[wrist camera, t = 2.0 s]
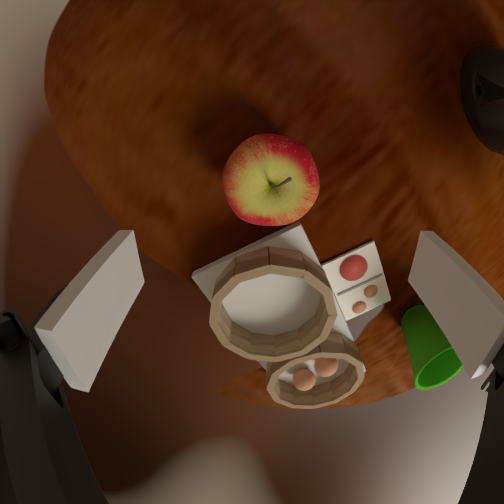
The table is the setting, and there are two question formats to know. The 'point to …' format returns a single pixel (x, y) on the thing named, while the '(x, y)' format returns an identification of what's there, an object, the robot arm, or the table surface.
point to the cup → (428, 349)
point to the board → (274, 298)
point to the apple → (270, 180)
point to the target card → (357, 280)
